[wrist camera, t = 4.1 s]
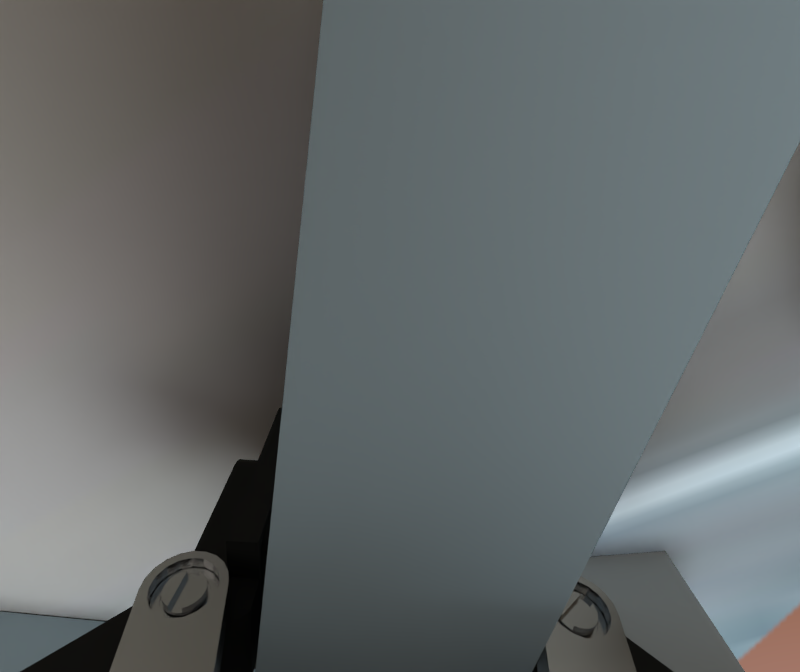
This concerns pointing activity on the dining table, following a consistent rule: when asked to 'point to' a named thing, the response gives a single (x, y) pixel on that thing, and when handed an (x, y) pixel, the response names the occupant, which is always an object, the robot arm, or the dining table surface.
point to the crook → (494, 308)
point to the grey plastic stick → (661, 611)
